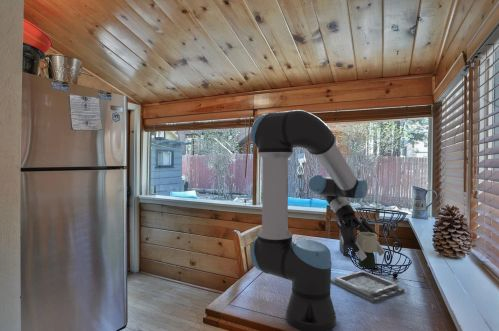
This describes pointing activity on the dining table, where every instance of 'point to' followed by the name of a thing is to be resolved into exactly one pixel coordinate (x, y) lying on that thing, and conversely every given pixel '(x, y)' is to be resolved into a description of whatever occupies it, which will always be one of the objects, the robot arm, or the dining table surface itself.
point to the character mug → (367, 248)
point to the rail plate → (368, 286)
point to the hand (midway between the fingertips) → (373, 256)
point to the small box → (345, 247)
